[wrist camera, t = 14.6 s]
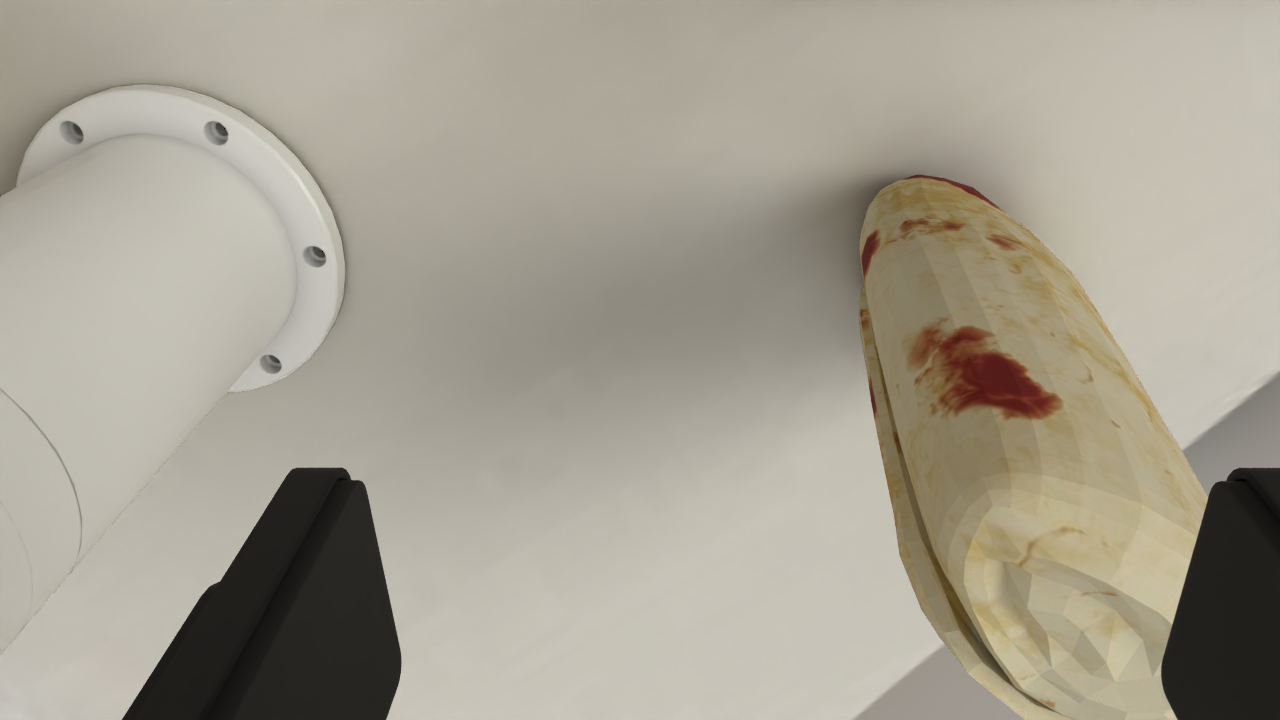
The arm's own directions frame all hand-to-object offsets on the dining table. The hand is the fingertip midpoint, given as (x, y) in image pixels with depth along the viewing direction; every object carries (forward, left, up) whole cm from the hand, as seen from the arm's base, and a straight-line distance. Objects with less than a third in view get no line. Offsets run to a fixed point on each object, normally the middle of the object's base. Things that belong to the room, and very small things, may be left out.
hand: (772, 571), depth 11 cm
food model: (+7, -7, -26) cm, 28 cm away
